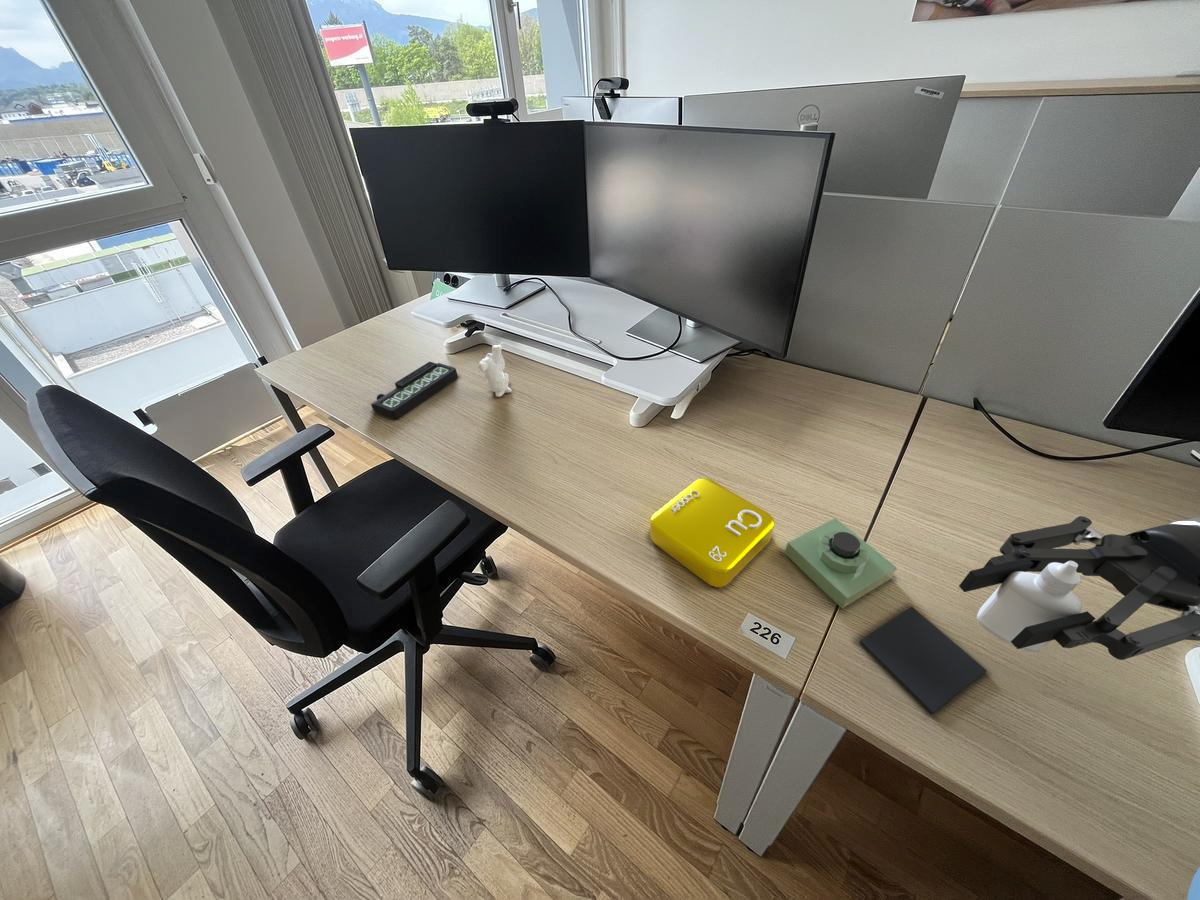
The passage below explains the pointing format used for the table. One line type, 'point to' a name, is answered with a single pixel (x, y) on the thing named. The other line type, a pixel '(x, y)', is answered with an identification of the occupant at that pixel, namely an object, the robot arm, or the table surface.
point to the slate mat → (922, 659)
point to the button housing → (839, 564)
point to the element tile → (711, 531)
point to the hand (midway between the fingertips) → (993, 608)
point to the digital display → (414, 389)
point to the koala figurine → (495, 371)
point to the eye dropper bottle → (1031, 601)
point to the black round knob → (845, 545)
